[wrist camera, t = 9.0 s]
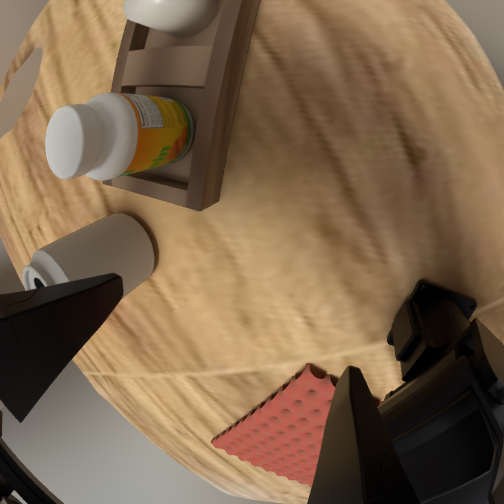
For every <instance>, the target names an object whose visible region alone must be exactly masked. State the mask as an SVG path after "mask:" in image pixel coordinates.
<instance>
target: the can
mask: <svg viewBox="0 0 504 504" xmlns="http://www.w3.org/2000/svg"><path fill="white" fill-rule="evenodd" d="M154 259H155V257H154V252H153V247H152V243H151V240H150V238H149V236H148V234H147V232H146V231H145V230H144V228H143V227H142V226H141V225H140V224H139V223H138V222H137V221H136V220H134V219H133V218H132V217H130V216H128V215H126V214H123V213H115V214H112V215H110V216H108V217H105V218H103V219H101V220H99V221H96V222H94V223H92V224H90V225H88V226H85V227H83V228H81V229H79V230H77V231H75V232H73V233H71V234H69V235H66V236H64V237H62V238H60V239H58V240H56V241H54V242H52V243H50V244H48V245H47V246H45V247H43V248H41V249H39V250H37V251H36V252H35V253H34V254H33V257H32V260H31V264H30V265H27V266H25V267H24V269H23V283H24V286H25V290H31V289H36V288H38V289H39V288H41V287H46V286H50V285H55V284H60V283H65V282H70V281H75V280H79V279H84V278H89V277H94V276H99V275H104V274H109V273H116V274H118V275H120V276H121V277H122V278H123V289H124V295H123V297H122V298H124V297H125V296H126V295H127V294H129V293H130V292H131V291H132V290H134V289H135V288H136V287H138V286H139V285H140V284H141V283H143V282H144V281H145V280H146V279H148V278H149V277H150V276H151V274H152V271H153V269H154Z"/></svg>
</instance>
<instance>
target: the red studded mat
mask: <svg viewBox="0 0 504 504" xmlns="http://www.w3.org/2000/svg"><path fill="white" fill-rule="evenodd" d="M309 366H310V364H306V367H305V370H304V372H303V373H302V375H301V376H300V377H299V378H298V379H296V376H297V373H296V374H295V376H292V380H291V382H290V384H289V385H288V387H287V388H286V389H285V390H283V387H284V386H285V385H284V384H283V385H282V387H280V389H279V391H278V393H277V395H276V396H275V397H274V399H272V400H271V398H272V396H273V394H271V396H269V398H268V400H267V402H266V403H265V405H264V406H263V407H262V408H261V406H262V404H263V403H262V402H261V404H259V406H258V408H257V410H256V411H255V412H254V414H253V415H252V412H253V411H254V410H253V409H252V411H250V413H249V415H248V416H247V418H246V419H245V420H244V418H245V416H244V417H242V419H241V421H240V422H239V424H238V425H237V426H236V424H237V423H238V422H237V421H236V423H234V425H233V427H232V429H231V430H230V428H231V426H230V427H228V429H227V431H226V432H225V431H223V432H222V433H221V435H220V437H219V435H218V436H216V438H215V440H214V438H213V439H212V441H211V443H212V444H213V446H214V447H215V448H218V449H224V450H225V451H226V453H227V454H229V455H236V456H238V457H239V459H240V460H242V461H249V462H251V464H252V465H253V466H260V467H263V469H264V470H265V471H272V472H275V473H276V475H278V476H286V477H287V478H288V479H289V480H298V482H299V483H301V484H309V486H311V487H312V484H313V480H314V476H315V472H316V467H317V463H318V458H319V454H320V449H321V444H322V439H323V434H324V429H325V424H326V420H327V416H328V413H329V409H330V406H331V402H332V399H333V395H334V392H335V387H334V386H333V385H332V383H331V381H330V376H331V375H326V376H325V378H324V379H318V378H316V377H314V376H313V375H312V373H311V372H310V369H309ZM325 373H326V372H325ZM383 402H384V401H383ZM379 403H380V404H381V403H382V402H380V399H379ZM380 404H379V405H380ZM243 420H244V421H243ZM229 430H230V431H229ZM224 432H225V434H224ZM223 434H224V435H223ZM218 437H219V438H218ZM213 440H214V441H213Z"/></svg>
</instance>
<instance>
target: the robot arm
mask: <svg viewBox="0 0 504 504" xmlns="http://www.w3.org/2000/svg"><path fill="white" fill-rule="evenodd" d="M423 285H425V287H424V288H421V286H423ZM123 295H124V289H123V278H122V277H121V276H120V275H118V274H116V273H109V274H104V275H99V276H94V277H89V278H84V279H79V280H75V281H70V282H65V283H60V284H55V285H50V286H46V287H41V288H39V289H38V288H36V289H31V290H26V291H21V292H14V293H7V294H0V409H1V407H3V406H4V405H5V406H6V407H7V409H8V410H9V411H10V412H11V413H12V414H13V415H14V417H15V418H16V419H17V420H18V421H19V422H20V423H21V422H22V421H23V420H24V419H25V417H26V416H27V415H28V413H29V412H30V411H31V409H32V408H33V407H34V405H35V404H36V403H37V402H38V400H39V399H40V398H41V397H42V395H43V394H44V393H45V391H46V390H47V389H48V387H49V386H50V385H51V384H52V382H53V381H54V380H55V379H56V378H57V376H58V375H59V374H60V373H61V372H62V370H63V369H64V368H65V367H66V365H67V364H68V363H69V362H70V361H71V360H72V358H73V357H74V356H75V355H76V354H77V353H78V351H79V350H80V349H81V348H82V347H83V346H84V345H85V343H86V342H87V341H88V340H89V339H90V338H91V337H92V336H93V334H94V333H95V332H96V331H97V330H98V329H99V328H100V327H101V325H102V324H103V323H104V322H105V320H106V319H107V318H108V316H109V315H110V314H111V312H112V311H113V310H114V308H115V307H116V306H117V304H118V303H119V302H120V300H121V299H122V297H123ZM471 304H473V305H472V306H470V305H471ZM476 307H477V302H476V301H475V299H473V298H471V297H468V296H466V295H463V294H460V293H458V292H455V291H453V290H450V289H447V288H445V287H442V286H439V285H437V284H434V283H431V282H429V281H426V280H420V281H419V282H418V283H417V285H416V287H415V289H414V291H413V293H412V295H411V296H410V298H409V300H408V301H407V302H405V303H404V305H403V307H402V309H401V310H400V312H399V314H398V316H397V317H396V319H395V321H394V323H393V324H392V330H391V331H390V333H389V335H388V336H387V343H388V344H389V345H393V346H394V348H395V357H396V360H397V361H400V363H401V373H402V380H403V381H405V383H404V384H403V385H401V386H400V387H398V388H397V389H396V390H394V391H391V392H389V393H388V394H387V395H386V396H385V399H384V402H382V403H381V404H380V405H379V406H378V407H377V405H376V403H375V401H374V399H373V396H372V394H371V392H370V390H369V388H368V385H367V383H366V381H365V379H364V377H363V374H362V372H361V370H360V369H359V368H357V367H354V366H348V367H347V368H346V369H345V371H344V372H343V374H342V375H341V377H340V378H339V380H338V382H337V384H336V388H335V392H334V395H333V399H332V402H331V406H330V409H329V413H328V416H327V420H326V424H325V429H324V434H323V439H322V444H321V449H320V454H319V458H318V463H317V467H316V472H315V476H314V480H313V484H312V488H311V492H310V495H309V499H308V503H307V504H504V345H503V344H502V343H501V342H500V341H499V340H498V339H497V338H496V337H495V336H494V335H493V334H492V333H491V332H490V331H489V330H488V329H487V328H486V327H485V326H484V325H483V324H482V323H481V322H480V321H479V320H478V319H477V318H474V320H473V321H472V322H471V323H470V321H469V318H470V317H471V315H472V313H473V312H474V310H475V309H476ZM392 338H393V340H391V339H392ZM1 436H2V412H1V410H0V504H22V503H21V502H20V501H19V500H18V499H17V498H15V497H14V496H13V495H11V493H12V492H13V490H15V491H16V492H17V493H18V494H19V495H20V496H21V497H22V499H23V500H24V501H25V502H26V503H28V504H64V503H63V502H62V501H61V500H59V499H58V498H57V497H56V496H55V495H54V494H53V493H52V492H50V491H49V490H48V489H47V488H46V487H45V486H44V485H43V484H42V483H41V482H40V481H39V480H38V479H37V478H36V477H35V476H34V475H33V474H32V473H31V472H30V471H29V470H28V469H27V468H26V467H25V466H24V464H23V463H22V462H21V461H20V460H19V459H18V458H17V457H16V455H15V454H14V453H13V452H12V451H11V449H10V448H9V447H8V446H7V445H6V443H5V442H4V441H3V439H2V438H1Z"/></svg>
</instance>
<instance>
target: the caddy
mask: <svg viewBox="0 0 504 504" xmlns="http://www.w3.org/2000/svg"><path fill="white" fill-rule="evenodd" d="M217 1H218V11H217V14H216V16H215V18H214V20H213V21H212V22H211V24H210V25H209V26H208V27H207V28H206V29H204V30H203V31H202V32H200V33H198V34H196V35H194V36H192V37H188V38H176V37H173V36H170V35H168V34H165V33H163V32H160V31H158V30H155V29H153V28H150V27H147V26H145V25H142V24H139V23H136V22H133V21H131V20H129V19H127V22H126V26H125V29H124V33H123V37H122V41H121V45H120V49H119V53H118V58H117V62H116V67H115V72H114V77H113V83H112V89H111V93H125V94H139V95H149V96H158V97H166V98H171V99H175V100H177V101H179V102H181V103H182V104H183V105H184V106H185V107H186V108H187V109H188V111H189V112H190V114H191V117H192V120H193V125H194V133H193V139H192V142H191V145H190V147H189V149H188V151H187V152H186V153H185V155H184V156H183V157H182V158H181V159H179V160H178V161H176V162H174V163H172V164H169V165H166V166H161V167H157V168H152V169H148V170H144V171H140V172H136V173H132V174H128V175H124V176H121V177H117V178H114V179H110V180H105V181H103V184H106V185H109V186H113V187H116V188H120V189H124V190H127V191H131V192H134V193H138V194H142V195H145V196H149V197H152V198H156V199H159V200H163V201H166V202H169V203H173V204H176V205H180V206H183V207H187V208H190V209H193V210H197V211H202V210H204V209H206V208H207V207H209V206H211V205H213V204H215V203H217V202H219V196H220V189H221V183H222V178H223V172H224V166H225V160H226V155H227V149H228V144H229V138H230V133H231V128H232V123H233V118H234V113H235V108H236V103H237V98H238V93H239V88H240V83H241V79H242V74H243V70H244V65H245V61H246V56H247V52H248V48H249V43H250V39H251V35H252V31H253V27H254V23H255V19H256V15H257V11H258V7H259V3H260V0H217Z"/></svg>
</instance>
